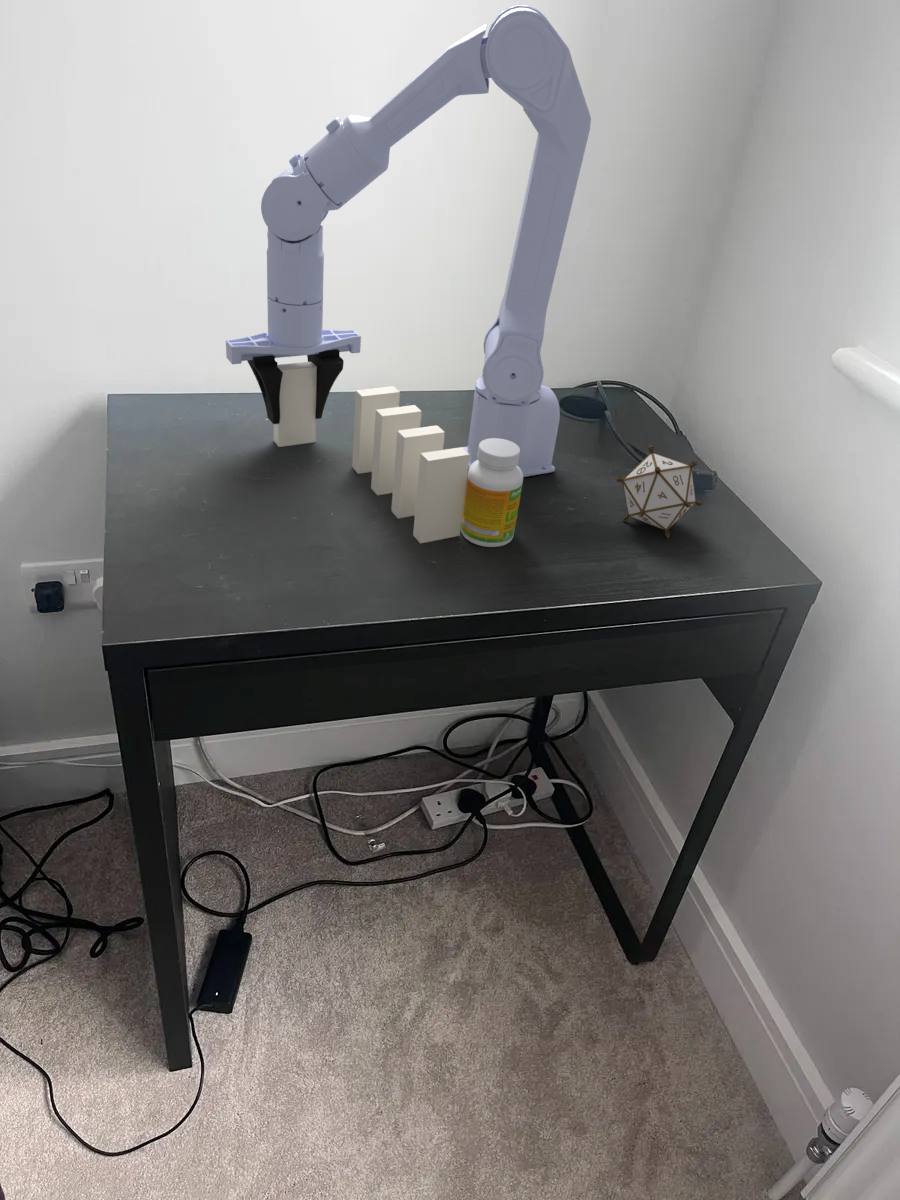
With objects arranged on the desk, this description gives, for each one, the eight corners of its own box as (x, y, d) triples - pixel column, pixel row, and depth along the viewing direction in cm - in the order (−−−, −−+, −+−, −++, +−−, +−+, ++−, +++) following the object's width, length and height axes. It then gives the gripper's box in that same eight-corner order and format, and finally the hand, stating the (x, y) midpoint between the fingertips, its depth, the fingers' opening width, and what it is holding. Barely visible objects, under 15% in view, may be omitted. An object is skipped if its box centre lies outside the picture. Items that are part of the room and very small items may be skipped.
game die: (642, 563, 98) (637, 520, 89) (606, 502, 102) (596, 456, 93) (718, 524, 98) (720, 478, 89) (678, 465, 101) (676, 415, 92)
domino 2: (388, 461, 103) (393, 386, 98) (394, 468, 102) (400, 392, 97) (352, 467, 101) (355, 390, 96) (358, 473, 100) (361, 396, 95)
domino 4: (429, 504, 96) (437, 425, 91) (436, 511, 95) (444, 432, 90) (391, 510, 94) (397, 430, 89) (398, 518, 93) (404, 437, 88)
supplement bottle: (509, 553, 90) (523, 464, 84) (455, 542, 90) (466, 453, 85) (516, 526, 94) (531, 440, 89) (465, 516, 95) (477, 430, 89)
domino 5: (451, 527, 93) (461, 447, 87) (459, 535, 92) (469, 454, 86) (412, 535, 91) (420, 453, 85) (420, 543, 90) (428, 460, 84)
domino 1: (310, 436, 106) (311, 361, 101) (315, 442, 105) (316, 366, 100) (273, 440, 104) (273, 365, 99) (278, 447, 103) (278, 370, 98)
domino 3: (408, 482, 99) (414, 404, 94) (414, 489, 98) (421, 411, 93) (371, 488, 98) (375, 409, 92) (377, 495, 96) (382, 416, 91)
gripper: (344, 281, 101) (340, 396, 109) (214, 288, 95) (220, 410, 102) (371, 301, 96) (364, 421, 104) (236, 310, 90) (240, 437, 98)
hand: (294, 417), depth 103 cm, fingers closed on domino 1, 4 cm apart
